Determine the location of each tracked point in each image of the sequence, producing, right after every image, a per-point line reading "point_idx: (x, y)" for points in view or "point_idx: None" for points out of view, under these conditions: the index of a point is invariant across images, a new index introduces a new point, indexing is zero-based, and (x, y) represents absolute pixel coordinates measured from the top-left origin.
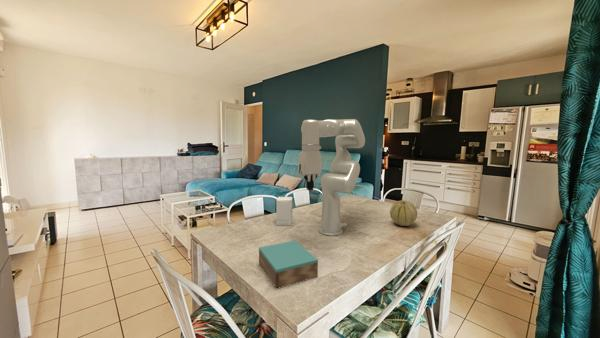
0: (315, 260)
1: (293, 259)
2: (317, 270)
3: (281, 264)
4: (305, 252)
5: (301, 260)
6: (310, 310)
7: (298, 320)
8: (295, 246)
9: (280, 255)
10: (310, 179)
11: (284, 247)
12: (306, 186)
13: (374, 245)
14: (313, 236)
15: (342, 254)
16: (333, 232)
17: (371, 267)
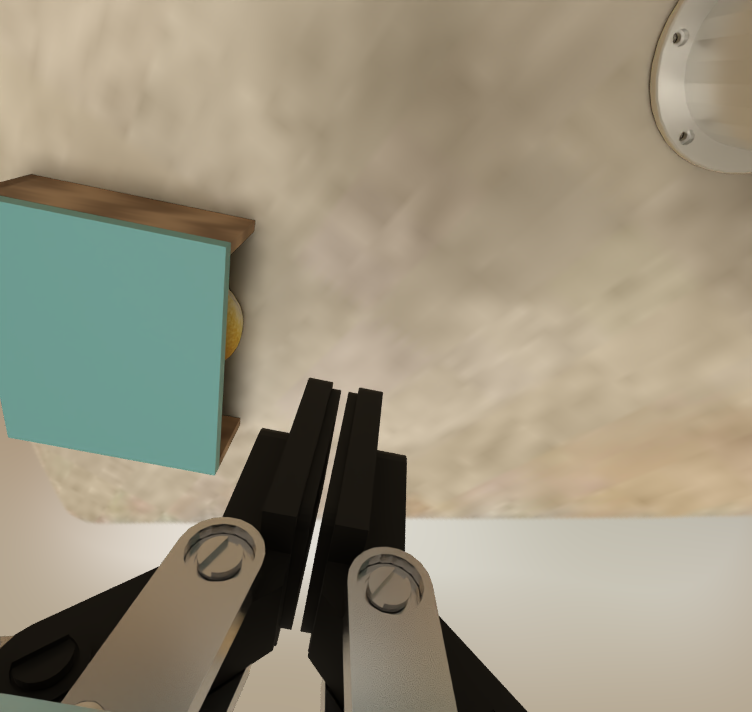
0: (202, 471)
1: (111, 416)
2: (230, 441)
3: (42, 417)
4: (199, 401)
5: (142, 442)
6: (125, 514)
7: (78, 518)
8: (184, 318)
9: (62, 353)
10: (322, 618)
11: (117, 290)
12: (256, 446)
13: (705, 409)
14: (558, 50)
15: (475, 371)
16: (712, 138)
17: (471, 501)
